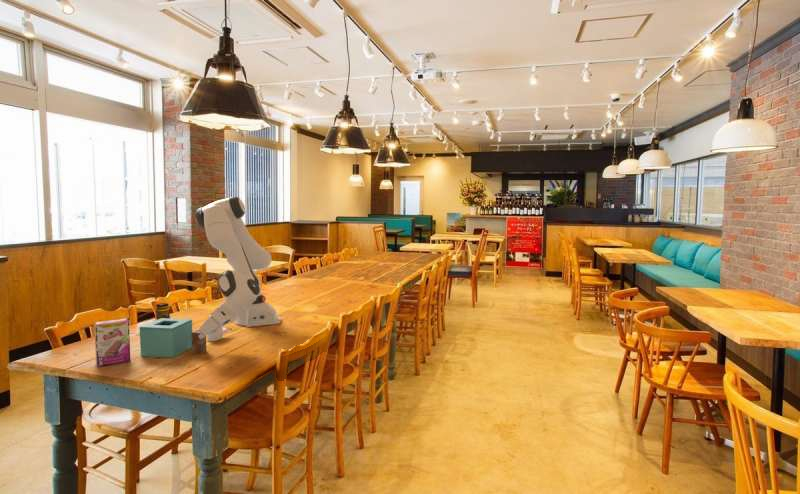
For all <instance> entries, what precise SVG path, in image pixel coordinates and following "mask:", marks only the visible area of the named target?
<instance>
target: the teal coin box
mask: <svg viewBox="0 0 800 494" xmlns="http://www.w3.org/2000/svg"><path fill="white" fill-rule="evenodd" d="M192 332H193V320H192V319H188V318H170V319H169V318H161V319H158V320H156V319H155V320H153V321H151V322H149V323H145V324H143V325H141V326H139V344H140V348H139V349H140V357H153V358H154V357H156V358H157V357H158V358H176V357H177V356H178V355H180V354H182V353H185V352H186V351H187V350H189V349H192V337H191V333H192Z"/></svg>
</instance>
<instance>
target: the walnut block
mask: <svg viewBox="0 0 800 494" xmlns="http://www.w3.org/2000/svg"><path fill="white" fill-rule="evenodd" d="M200 334H201V332H200V331H199V329H196V330H194V331H192V333H191V337H192V348H191V355H203V354H204V353H206V352H207V335H206V336H205V337H204V338H203V339H200V338H199V337H198V336H199V335H200Z"/></svg>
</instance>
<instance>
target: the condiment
mask: <svg viewBox="0 0 800 494" xmlns="http://www.w3.org/2000/svg"><path fill="white" fill-rule="evenodd" d="M170 313H171V311H170V308H169V302H158V303H156V309H155V317H156V318H155V321H156V320H158V319H161V318H169V319H171V314H170Z"/></svg>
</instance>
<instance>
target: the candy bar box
mask: <svg viewBox="0 0 800 494" xmlns="http://www.w3.org/2000/svg"><path fill="white" fill-rule="evenodd" d="M93 326H94V345H95V347H94V349H95V363H96V367H97V368H98V366H100V367H105V366H104V365H106V366H110V365H109V364H111V365H116V364H115V363H117V364H121V362H123V363H128V362H131V342H130V340H131V339H130V321H129V320H128V318H121V319H111V320H104V321H96V322H94V325H93ZM127 361H128V362H127Z"/></svg>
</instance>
